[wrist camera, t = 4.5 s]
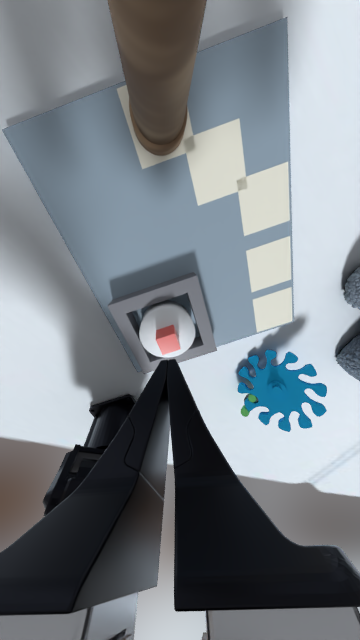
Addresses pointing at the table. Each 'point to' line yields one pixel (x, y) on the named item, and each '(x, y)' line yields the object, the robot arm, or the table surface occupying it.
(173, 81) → the brown wooden cylinder
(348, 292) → the koala plush
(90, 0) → the table surface
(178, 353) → the dome button
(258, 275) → the board
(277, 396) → the blue spiky piece
